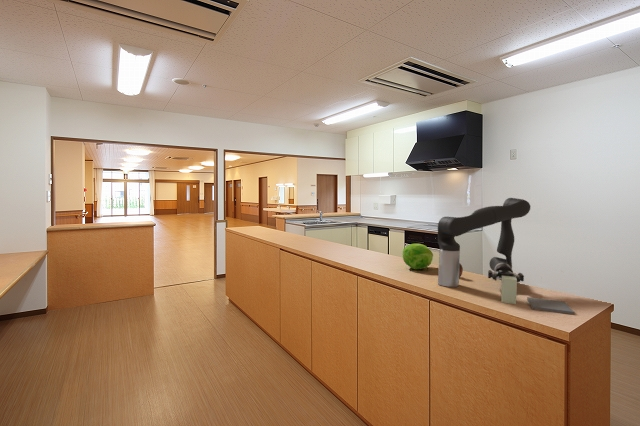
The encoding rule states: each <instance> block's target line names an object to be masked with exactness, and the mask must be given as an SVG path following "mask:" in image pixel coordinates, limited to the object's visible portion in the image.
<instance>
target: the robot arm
mask: <svg viewBox="0 0 640 426" xmlns="http://www.w3.org/2000/svg"><path fill="white" fill-rule="evenodd" d="M530 211H531V204H530V202H528V201H527V200H525V199H522V198H515V197H507V199H505V200H504V202H503V203H502V205H491V206H490V205H489V206H485V207H481V208H478V209H476V210H474V211H473V212H472V213H471V214H470V215H466V216H461V217H454V216H442V217H441V218H440V219H439V221H438V223H437V244H438V246H439V252H438V253H439V257H438V267H437V268H438V270H437V272H438V273H437V275H438V277H437V286H438V285H439V286H443V287H448V288H449V287H450V288H457V287H459V285H460V277H459V263H460V257H461V256H460V254H461V252H460V251H461V245H460V243H458V241H456V239H455V237H460V236H461V235H464V234H467V233H469V232H471V231H473V230H478V229H482V228H485V227H488V226H492V225H495V224H498V223H500V222H501V223H500V225H501V226H500V235H499V239H498V242H497V247H496V252H497V253H499V254H501V255H502V256H505V258H501V257H497V256H494V257H491V258H490V260H489V268H490V269H491V270H490V269H489V270H488V271H487V272H488V273H487V278H488V279H491V278H492V280H494V281H497V280H499V281H500V282H502V276H511V277H516V279H517V284H519V283H521V282H525V279H524V277H525V275H524V274H523V273H521V272H517V274H516V273H515V272H514V271H513V260H512V254H513V250H514V249H513V248H514V244H515V234H514V229H513V226H512V219H517V218H522V217H526V216H527V215H528V214H529V213H530Z"/></svg>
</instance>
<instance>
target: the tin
mask: <svg viewBox="0 0 640 426" xmlns="http://www.w3.org/2000/svg"><path fill="white" fill-rule="evenodd" d="M463 270H464V269H463V265H462V264H461V263H460V262H459V278H460V277H461V276H462V275H463Z"/></svg>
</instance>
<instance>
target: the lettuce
mask: <svg viewBox="0 0 640 426" xmlns="http://www.w3.org/2000/svg"><path fill="white" fill-rule="evenodd" d="M433 258H434V254H433V252H432V250H431V249H430V248H429V247H427V245H424V244H421V243H411V244H408V245H406V246H405V247H404V248H403V250H402V259H403V262H404V264H406V265H407V266H408V268H411V269H413V270H422V269H426V268H427V267H429V266H430V265H431V264H432V262H433Z"/></svg>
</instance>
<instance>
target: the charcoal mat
mask: <svg viewBox="0 0 640 426" xmlns="http://www.w3.org/2000/svg"><path fill="white" fill-rule="evenodd" d="M526 300H527V301H528V304H529V306H530V307H531V309H532V310H537V311H538V310H539V311H543V312H544V311H545V312H552V313H558V314H559V313H560V314H568V315H574V314H575V311H574V310H573V309H572V308H571V307H570V306H569V305H568V303H567V302H566V301H563V300H556V299H549V298H547V299H546V298H538V297H530V296H528V297H526Z"/></svg>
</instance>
